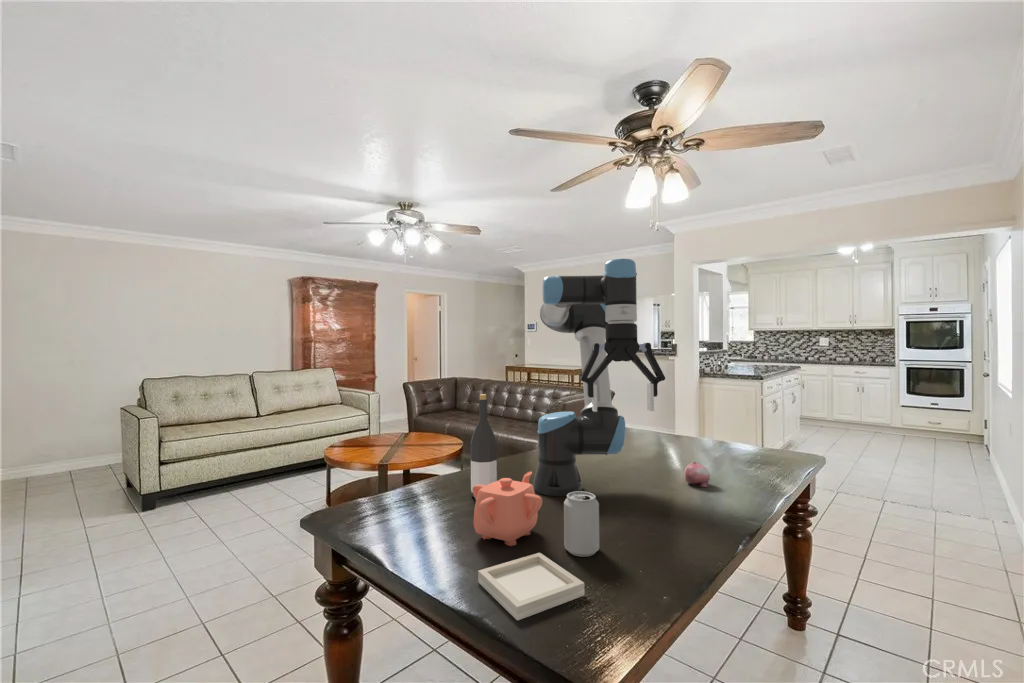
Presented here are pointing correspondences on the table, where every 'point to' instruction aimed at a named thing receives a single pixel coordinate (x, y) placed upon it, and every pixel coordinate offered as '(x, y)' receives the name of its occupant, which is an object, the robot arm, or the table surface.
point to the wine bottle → (483, 450)
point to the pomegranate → (697, 475)
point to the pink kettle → (506, 509)
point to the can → (581, 523)
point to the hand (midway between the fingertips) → (622, 410)
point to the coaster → (530, 585)
